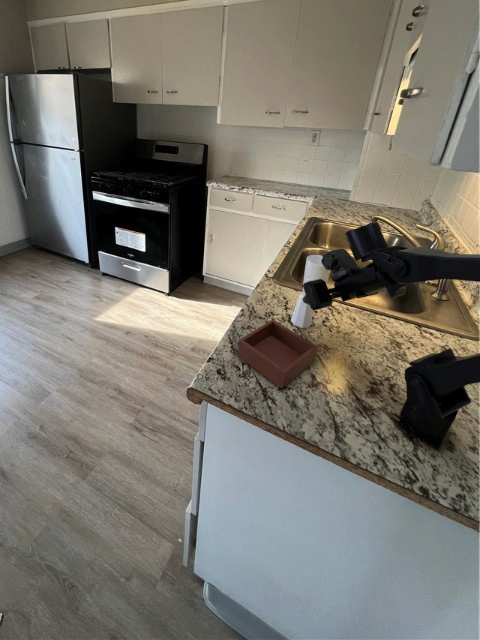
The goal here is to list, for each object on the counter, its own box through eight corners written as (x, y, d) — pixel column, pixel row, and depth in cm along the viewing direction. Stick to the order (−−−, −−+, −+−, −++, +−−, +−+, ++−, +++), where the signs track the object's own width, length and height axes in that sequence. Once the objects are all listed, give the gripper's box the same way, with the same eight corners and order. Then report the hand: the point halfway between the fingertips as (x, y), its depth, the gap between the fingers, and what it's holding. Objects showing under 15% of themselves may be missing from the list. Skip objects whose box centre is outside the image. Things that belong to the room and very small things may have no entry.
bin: (314, 361, 73) (318, 346, 71) (281, 389, 65) (285, 372, 63) (270, 333, 81) (272, 319, 79) (237, 355, 74) (238, 339, 72)
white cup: (299, 280, 107) (304, 253, 103) (323, 282, 106) (329, 256, 102) (303, 292, 100) (309, 264, 96) (328, 294, 99) (336, 267, 95)
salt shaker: (299, 314, 89) (306, 280, 85) (315, 324, 85) (324, 289, 80) (286, 320, 87) (293, 286, 82) (302, 331, 82) (310, 295, 78)
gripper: (382, 238, 70) (334, 261, 84) (318, 249, 63) (276, 272, 77) (404, 286, 67) (350, 301, 81) (339, 303, 60) (292, 316, 74)
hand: (318, 297), depth 78 cm, fingers open, 9 cm apart
